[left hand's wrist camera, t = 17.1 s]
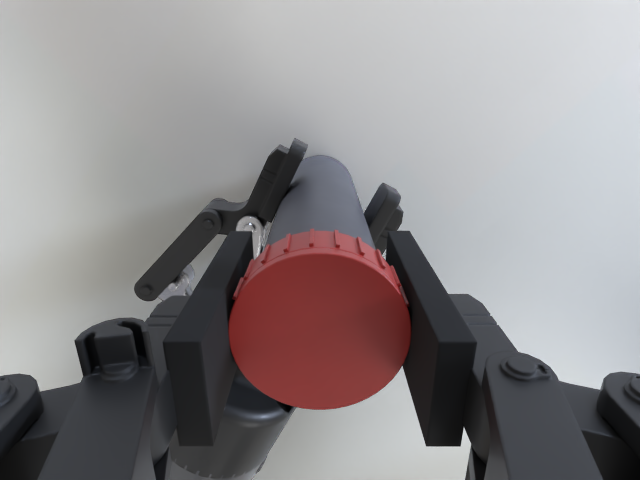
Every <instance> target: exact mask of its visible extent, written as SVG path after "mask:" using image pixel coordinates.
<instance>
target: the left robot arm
mask: <svg viewBox="0 0 640 480" xmlns="http://www.w3.org/2000/svg"><path fill="white" fill-rule="evenodd" d="M252 259H253V260H254V253H253V237H252V231H230V232H229V234H228V236H227V237H226V239H225V241H224V242H223V244H222V245H221V247H220V249H219V250H218V252H217V254H216V255H215V257H214V259H213V260H212V262H211V263H210V265H209V267H208V268H207V270H206V272H205V273H204V275H203V277H202V278H201V280H200V281H199V283H198V285H197V286H196V288H195V290H194V291H193V293H192V294H191V295H172V296H170V297H169V298H167V299H166V300H164V301H163V302H161V303H160V304H158V305H157V306H156V308H155V309H154V311H153V312H152V313H151V315H150V318H148V319H147V320H146V321H145V322H144V321H143V320H139V319H135V318H118V319H113V320H108V321H104V322H102V323H99V324H96V325H94V326H92V327H90V328H88V329H87V330H85V331H84V332H82V333H81V334H80V335H79V336H78V337H77V338H76V340H75V345H76V349H77V353H78V357H79V361H80V365H81V369H82V373H83V378H82V381H81V383H78V384H74V385H70V386H66V387H61V388H56V389H51V390H46V391H41V392H40V391H39V387H38V384H37V381H36V380H35V379H34V378H33V377H32V376H30V375H24V374H12V375H4V376H0V480H170V472H171V463H172V462H171V455H170V449H169V444H170V441H171V439H172V436H173V434H174V432H175V429H177V435H178V442H179V446H214V443H215V439H216V436H217V433H218V429H219V426H220V422H221V419H222V416H223V412H224V409H225V405H226V402H227V399H228V395H229V392H230V388H231V385H232V382H233V378H234V375H235V371H236V368H237V364H236V362H235V360H234V357H233V355H232V352H231V349H230V344H229V333H228V323H229V317H230V313H231V309H232V307H233V304H234V302H235V300H234V299H232V298H233V295H234V293H235V291H236V288H237V286H238V283H239V281H240V278H241V277H242V278H244V275H245V273H246V270H247V268H248V265H249V263H250V261H251V260H252ZM386 262H387V263H388V265H389V266H392V265H393V267H394V269H395V272H396V274H397V276H398V279H399V281H400V284H401V285H402V288H403V290H404V293H405V295H406V298H407V300H408V302H409V307H407V308H408V311H409V314H410V319H411V341H410V347H409V351H408V354H407V356H406V359H405V361H404V363H403V369H404V372H405V376H406V379H407V383H408V386H409V389H410V393H411V396H412V400H413V403H414V406H415V410H416V413H417V417H418V420H419V423H420V427H421V430H422V434H423V437H424V440H425V444H426V446H461V440H462V434H463V428H465V430H466V433H467V435H468V437H469V440H470V442H471V449H470V455H469V460H468V466H467V472H466V478H465V480H640V374H636V373H627V372H617V373H610V374H609V375H608V376H606V377H605V378H604V380H603V383H602V386H601V390H598V389H593V388H588V387H583V386H578V385H573V384H569V383H565V382H561V381H559V380H558V378H557V376H556V374H555V373H554V372H553V370H552V369H551V368H550V367H549V366H548V365H546V364H545V363H544V362H542V361H541V360H539V359H537V358H535V357H532V356H530V355H528V354H524V353H520V352H518V351H517V350H516V348H515V347H514V346H513V344H512V343H511V342H510V340H509V339H508V337H507V336H506V335H505V333H504V332H503V331H502V329H501V328H500V327H499V325H497V323H496V321H495V320H494V319H493V317H492V316H490V313H489V312H488V311H487V309H486V308H485V306H484V305H483V304H482V303H481V302H479V301H478V300H476V299H475V298H473V297H472V296H470V295H469V294H448V293H447V292H446V290H445V288H444V287H443V285H442V283H441V282H440V280H439V279H438V277H437V275H436V274H435V272H434V270H433V269H432V267H431V266H430V264H429V262H428V261H427V259H426V257H425V256H424V254H423V252H422V251H421V249H420V248H419V246H418V244H417V243H416V241H415V239H414V238H413V236H412V234H411V233H410V231H388V233H387V249H386Z"/></svg>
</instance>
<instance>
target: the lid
mask: <svg viewBox="0 0 640 480" xmlns="http://www.w3.org/2000/svg"><path fill="white" fill-rule="evenodd" d="M232 299H234V300H235V302H234V304H233V307H232V309H231V313H230V317H229V323H228V333H229V344H230V349H231V352H232V355H233V357H234V360H235V362H236V364H237V365H238V367H239V369H240V371H241V372H242V373H243V374H244V376H245V377H246V378H247V379H248V380H249V381H250V382H251V383H252V384H253V385H254V386H255V387H256V388H257V389H259V390H260V391H261V392H263V393H264V394H266V395H267V396H269V397H271V398H273V399H275V400H277V401H279V402H281V403H284V404H287V405H290V406H294V407H299V408H304V409H314V410H326V409H336V408H341V407H346V406H349V405H352V404H355V403H358V402H360V401H363V400H365V399H367V398H369V397H370V396H372V395H374V394H376V393H377V392H378V391H380V390H381V389H382V388H384V387H385V386H386V385H387V384H388V383H389V382H390V381H391V380H392V379H393V378H394V377H395V375H396V374H397V373H398V372H399V370H400V368H401V367H402V365H403V363H404V361H405V359H406V356H407V354H408V351H409V347H410V341H411V319H410V314H409V311H408V308H407V307H409V302H408V300H407V298H406V295H405V293H404V290H403V288H402V285H401V284H400V281H399V279H398V276H397V274H396V272H395V269H394V267H393V265H392V266H389V265H388V263H387V262H386V261H385V259H384V258H383V257H382V255H381V252H380V250H378V249H377V250H374V249H373V248H372V247H370V246H369V245H368V244H366V243H364V242H362V240H361V238H360V237H357V238H354V237H352V236H349V235H346V234H342V233H339V232H338V230H334V232H331V231H314V229H310V231H309V232H302V233H298V234H294V235H291V234H290V233H289V234H287V235H286V238H283V239H281V240H279V241H277V242H275V243H274V244H272V245H271V246H270V244H268V245H266V247H265V250H264V251H263V252H262V253H261V254H260V255H259V256H258V257H257V258H256V259H255V260H253V259H252V260H251V261H250V263H249V265H248V268H247V270H246V273H245V275H244V278H242V277H241V278H240V281H239V283H238V286H237V288H236V291H235V293H234V295H233V298H232Z"/></svg>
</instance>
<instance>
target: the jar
mask: <svg viewBox="0 0 640 480" xmlns="http://www.w3.org/2000/svg"><path fill="white" fill-rule="evenodd" d="M310 229H314V231H331V232H334V230H338V232H339V233H342V234H346V235H349V236H352V237H354V238H357V237H360V238H361V240H362V242H364V243H366V244H368V245H369V246H370V247H372V248H373V249H374V250H376V249H375V246H374V243H373V240H372V237H371V234H370V231H369V228H368V225H367V222H366V219H365V216H364V214H363V211H362V208H361V205H360V202H359V199H358V196H357V193H356V190H355V187H354V184H353V181H352V178H351V176H350V173H349V172H348V170H347V169H346V167H345V166H344V165H343V164H342V163H340V162H339V161H337V160H336V159H334V158H331V157H328V156H312V157H309V158H306V159H304V160H302V161H301V163H300V165H299V167H298V169H297V171H296V173H295V175H294V177H293V179H292V181H291V183H290V186H289V188H288V190H287V192H286V194H285V196H284V198H283V200H282V202H281V204H280V205H279V208H278V210H277V213H276V216H275V219H274V222H273V225H272V228H271V230H270V233H269V236H268V239H267V242H266V245H268V244H270V246H271V245H272V244H274V243H275V242H277V241H279V240H281V239H283V238H286V235H287V234H289V233H290V234H291V235H294V234H298V233H302V232H309V231H310ZM266 245H265V247H266ZM264 250H265V248H264Z"/></svg>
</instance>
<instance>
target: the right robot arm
mask: <svg viewBox="0 0 640 480" xmlns="http://www.w3.org/2000/svg"><path fill="white" fill-rule="evenodd" d="M307 146H308V144H306V143H304V142H302V141H300V140H298V139H296V138H295V139H294V141H293V143H292V145H291V147H290V149H288V148H286V147H284V146H282V145H279V146H278V147H277V148H276V149H275V150H273V151H272V152H271V154H270V155H269V157H268V159H267V161H266V163H265V165H264V167H263V170H262V172H261V174H260V176H259V178H258V180H257V183H256V185H255V187H254V189H253V191H252V194H251V196H250V198H249V200H247V201H245V202H243V203H232V202H228V201H226V200H225V199H222V198H216V199H214V200H212V201H211V202H210V203H209V204H208V205H207V206H206V207H205V208H204V209H203V211H202V212H201V213H200V214H199V215H198V216H197V217H196V218H195V219H194V220H193V221H192V223H191V224H190V225H189V226H188V227H187V228H186V229H185V230H184V231H183V232H182V233H181V235H180V236H179V237H178V238H177V239H176V240H175V241H174V242H173V243H172V244H171V245H170V247H169V248H168V249H167V250H166V251H165V252H164V253H163V254H162V255H161V256H160V258H159V259H158V260H157V261H156V262H155V263H154V264H153V265H152V266H151V267H150V268H149V270H148V271H147V272H146V273H145V274H144V275H143V276H142V277H141V278H140V279H139V281H138V282H137V283H136V284H135V287H134V291H135V293H136V295H137V296H138V297H139V298H140V299H142V300H144V301H153V300H155V299H156V298H157V297H158V298H160V299H161V300H162V301H164V300H166V299H167V298H169V297H170V296H172V295H191V294H192V293H193V292H192V290H191V286H190V284H191V281H192V280H193V278H194V270H193V268H192V267H191V265H190V264H189V263H190V262H191V261H192V260H193V259H194V258H195V257H196V256H197V255H198V254H199V253H200V252H201V251H202V250H203V249H204V248H205V246H206V245H207V244H208V243H209V242H210V241H211V240H212V239H213V238H214V237H215V236H216V235H217V234H224V235H228V234H229V232H230V231H252V237H253V253H254V260H255V259H256V258H257V257H258V256H259V255H260V254H261V253H262V252H263V251H264V243H265V236H266V229H267V223H268V221H269V222H271V223H272V221H273V218H274V216H275V214H276V212H277V210H278V208H279V205H280V204H281V202H282V200H283V198H284V196H285V194H286V192H287V190H288V188H289V186H290V183H291V181H292V179H293V177H294V175H295V173H296V171H297V169H298V167H299V165H300V163H301V161H302V159H303V157H304V154H305V152H306V150H307ZM400 199H401V196H400V194H399V193H398V192H397V190H396V189H394V188H392V187H391V186H389V185H387V184H385V183H382V184H381V185H380V186H379V188H378V190H377V191H376V193H375V195H374V197H373V198H372V200H371V202H370V204H369V205H368V207H367V209H366V211H365V212H364V216H365V219H366V222H367V225H368V228H369V231H370V234H371V237H372V240H373V243H374V246H375V249H376V250H377V249H378V250H380V252H381V255H382V254H383V253H384V251H385V249H386V248H387V233H388V231H397V230H398V228H399V226H400V225H401V223H402V217H403V211H402V209H401V208H400V206H399V202H400ZM295 408H296V407H294V406H290V405H287V404H284V403H281V402H279V401H277V400H275V399H273V398H271V397H269V396H267V395H266V394H264V393H263V392H261V391H260V390H259V389H257V388H256V387H255V386H254V385H253V384H252V383H251V382H250V381H249V380H248V379H247V378H246V377H245V376H244V374H243V373H242V372H241V371H240V369H239V367H238V365H237V368H236V371H235V375H234V378H233V382H232V385H231V388H230V392H229V395H228V399H227V402H226V405H225V409H224V412H223V416H222V419H221V422H220V426H219V429H218V433H217V436H216V439H215V443H214V446H179V442H178V435H177V429H175V432H174V434H173V436H172V439H171V441H170V444H169V449H170V455H171V462H172V463H171V472H170V480H252V478H253V477H254V475H255V474H256V473H257V472H259V471H260V469H261V467H262V466H263V464H264V462H265V460H266V458H267V454H268V452H269V451H270V449H271V447H272V446H273V444H274V443H275V441H276V439H277V438H278V436H279V434H280V433H281V431H282V430H283V428H284V426H285V425H286V423H287V421H288V420H289V418H290V416H291V415H292V413H293V412H294V410H295Z"/></svg>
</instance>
